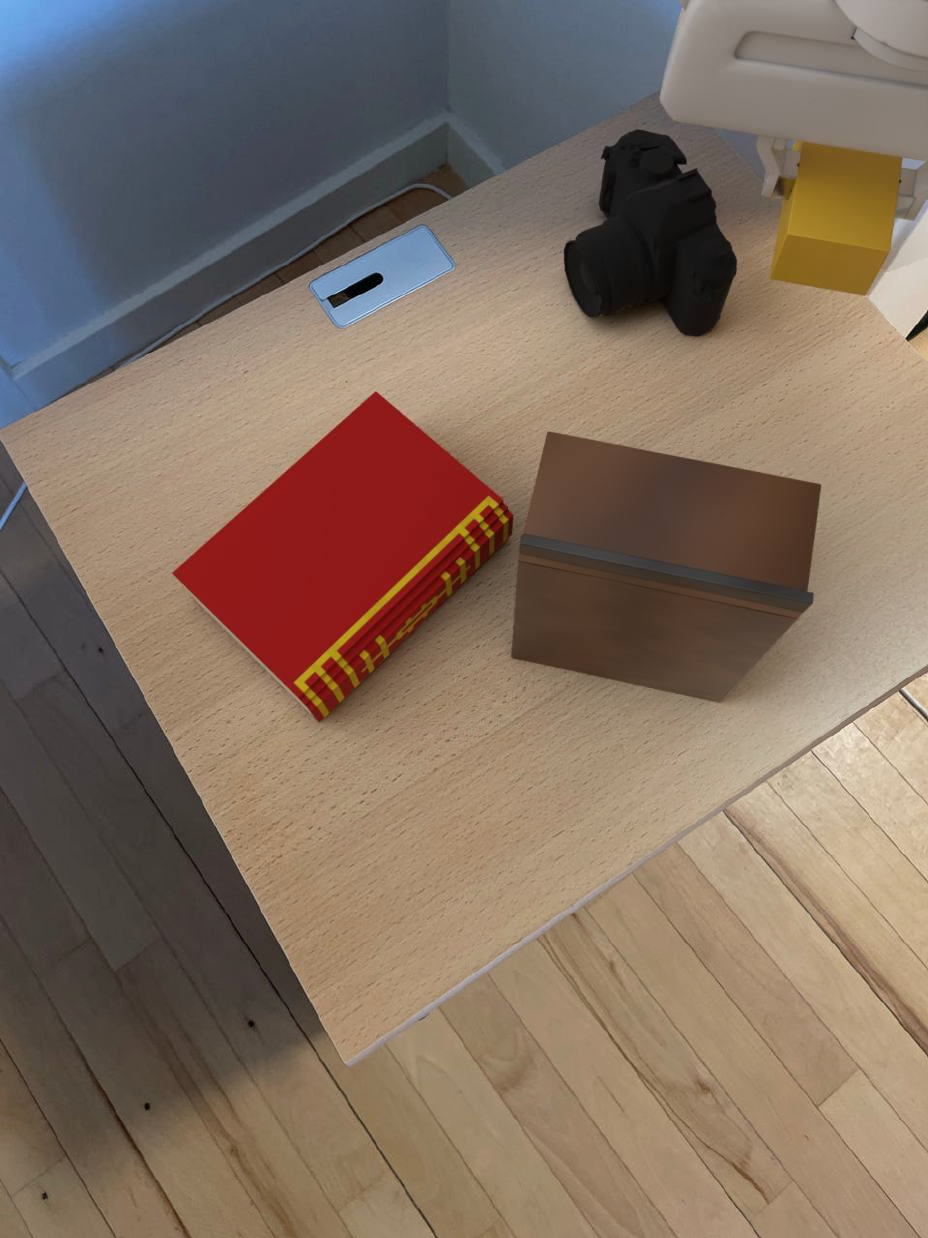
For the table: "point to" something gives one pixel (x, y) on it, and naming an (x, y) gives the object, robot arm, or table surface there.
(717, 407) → the table surface
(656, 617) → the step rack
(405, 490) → the book
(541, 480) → the top shelf
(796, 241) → the yellow box
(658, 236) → the film camera
